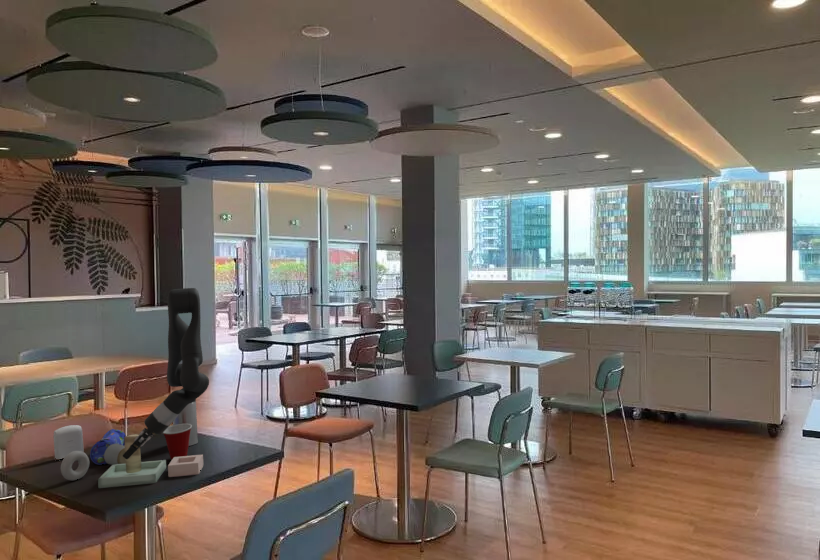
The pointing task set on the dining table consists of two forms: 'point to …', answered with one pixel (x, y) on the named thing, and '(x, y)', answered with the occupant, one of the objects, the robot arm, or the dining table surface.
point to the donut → (68, 461)
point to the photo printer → (67, 440)
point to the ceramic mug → (115, 454)
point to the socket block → (185, 465)
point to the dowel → (135, 459)
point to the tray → (132, 474)
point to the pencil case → (106, 445)
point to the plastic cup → (177, 439)
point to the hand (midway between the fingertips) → (127, 455)
